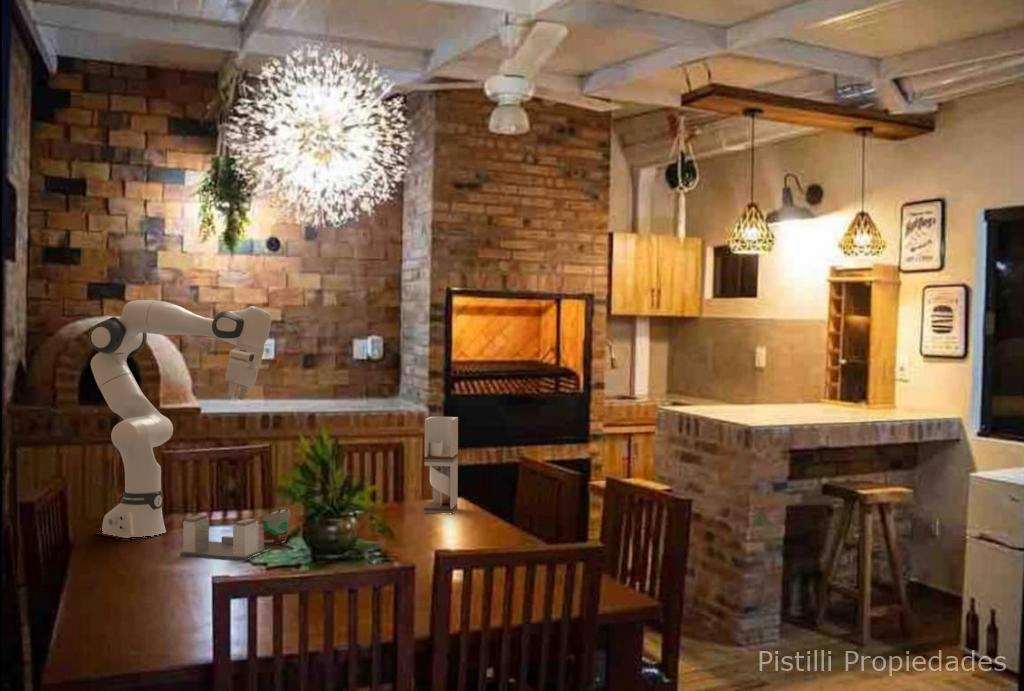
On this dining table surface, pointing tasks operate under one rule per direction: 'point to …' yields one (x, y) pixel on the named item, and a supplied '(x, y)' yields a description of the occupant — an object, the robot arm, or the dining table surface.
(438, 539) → the dining table surface
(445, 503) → the white tiered stand
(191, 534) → the rail
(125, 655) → the dining table surface
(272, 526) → the food container
